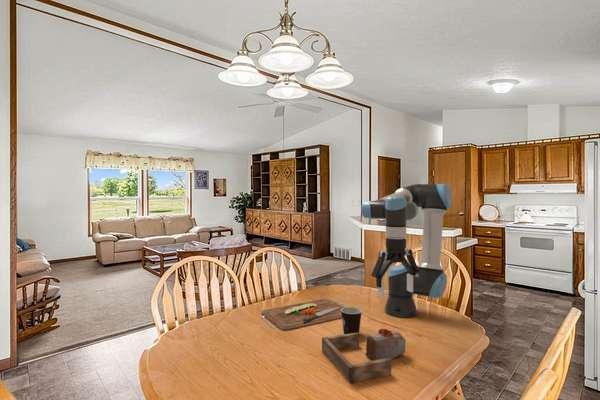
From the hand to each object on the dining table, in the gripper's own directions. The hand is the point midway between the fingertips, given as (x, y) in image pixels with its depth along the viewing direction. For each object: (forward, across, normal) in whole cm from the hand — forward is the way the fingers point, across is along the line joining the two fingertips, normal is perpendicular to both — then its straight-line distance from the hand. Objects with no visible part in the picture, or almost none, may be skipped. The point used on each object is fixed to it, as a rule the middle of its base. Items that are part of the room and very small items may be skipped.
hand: (395, 293), depth 128 cm
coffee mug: (+22, +7, -21) cm, 31 cm away
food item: (+22, +6, +2) cm, 23 cm away
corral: (+22, +19, +2) cm, 29 cm away
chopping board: (+22, +15, -48) cm, 55 cm away
